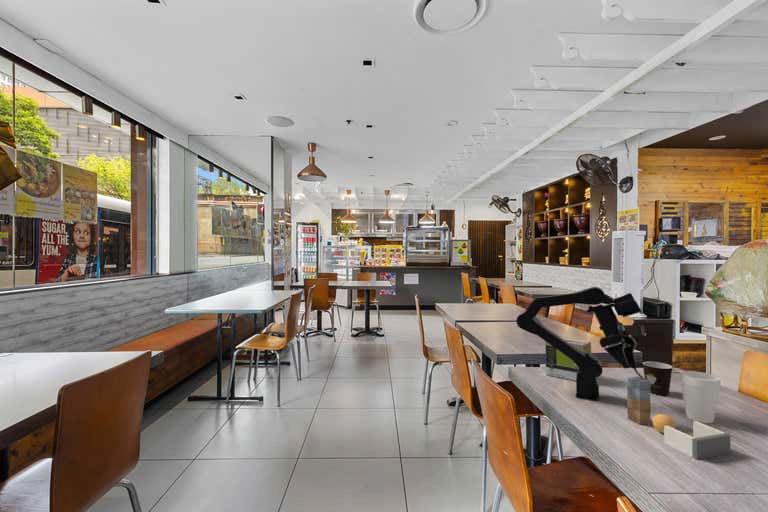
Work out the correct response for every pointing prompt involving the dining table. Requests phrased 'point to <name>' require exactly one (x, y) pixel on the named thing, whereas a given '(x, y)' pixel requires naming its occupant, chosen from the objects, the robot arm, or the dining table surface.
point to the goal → (698, 441)
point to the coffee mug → (657, 377)
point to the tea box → (563, 360)
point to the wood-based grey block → (638, 400)
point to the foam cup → (700, 395)
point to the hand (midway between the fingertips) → (631, 368)
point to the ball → (662, 422)
